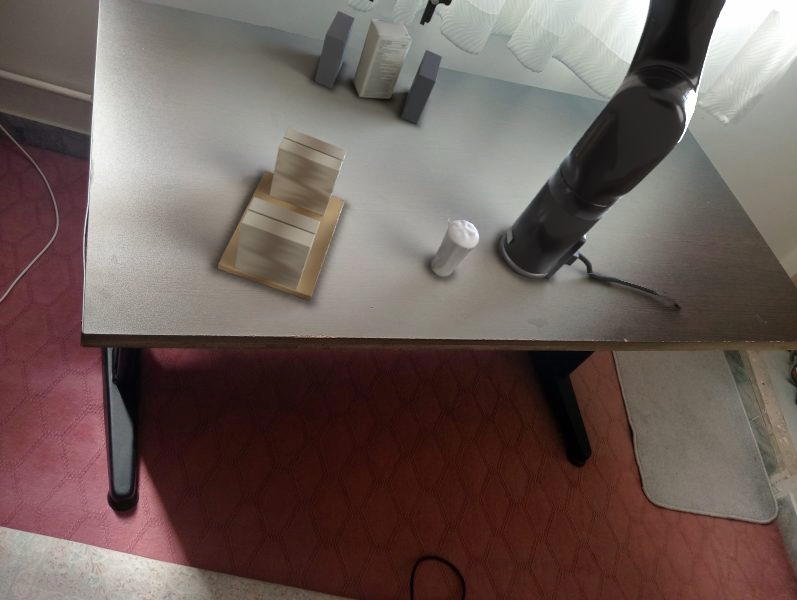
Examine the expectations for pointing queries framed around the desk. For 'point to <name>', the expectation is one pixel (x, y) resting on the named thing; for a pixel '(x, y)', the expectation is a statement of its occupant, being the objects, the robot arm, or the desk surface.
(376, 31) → the cosmetic box
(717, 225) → the desk surface
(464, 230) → the milkshake
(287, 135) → the wooden holder
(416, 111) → the grey bookends
